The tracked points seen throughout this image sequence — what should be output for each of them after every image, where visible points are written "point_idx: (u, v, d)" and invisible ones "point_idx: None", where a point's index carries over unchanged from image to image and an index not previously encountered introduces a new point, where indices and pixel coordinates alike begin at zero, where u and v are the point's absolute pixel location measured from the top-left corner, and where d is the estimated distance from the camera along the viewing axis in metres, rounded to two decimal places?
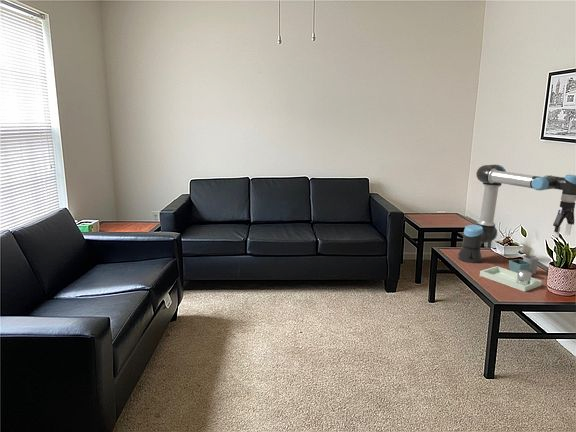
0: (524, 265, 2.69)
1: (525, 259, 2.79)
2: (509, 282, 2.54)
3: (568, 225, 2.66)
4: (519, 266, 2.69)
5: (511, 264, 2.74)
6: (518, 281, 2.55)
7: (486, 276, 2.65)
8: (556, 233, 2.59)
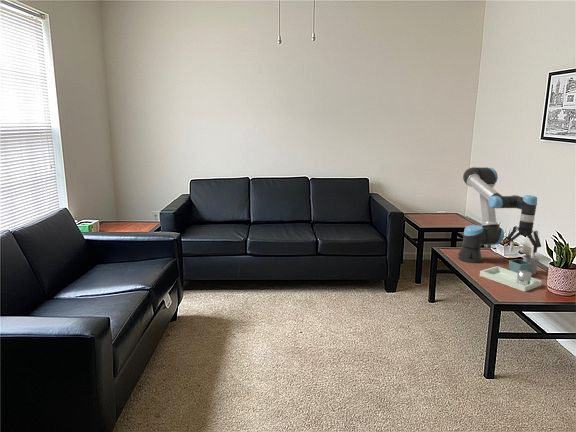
0: (524, 265, 2.69)
1: (525, 259, 2.79)
2: (509, 282, 2.54)
3: None
4: (519, 266, 2.69)
5: (511, 264, 2.74)
6: (518, 281, 2.55)
7: (486, 276, 2.65)
8: None
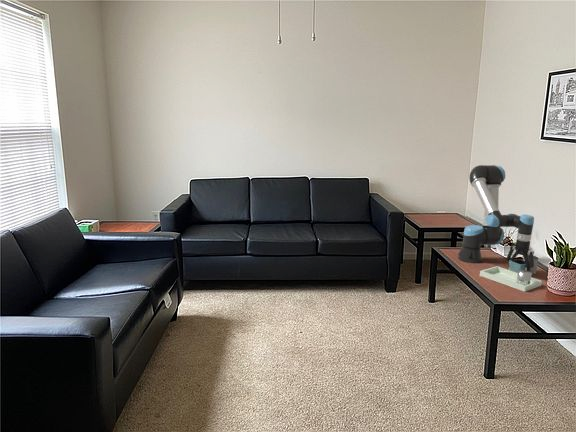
0: (524, 265, 2.69)
1: None
2: (509, 282, 2.54)
3: None
4: (519, 266, 2.69)
5: (511, 264, 2.74)
6: (518, 281, 2.55)
7: (486, 276, 2.65)
8: None
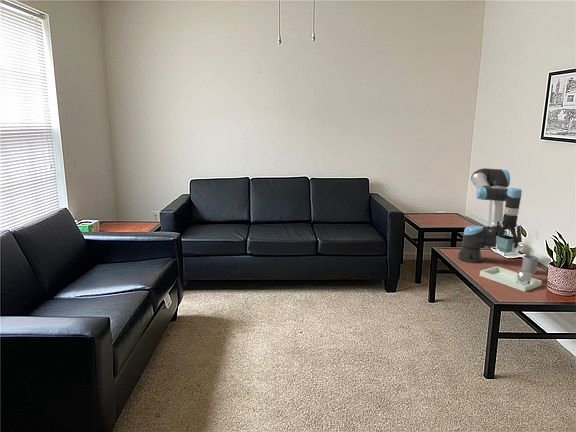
0: (512, 240, 2.59)
1: (525, 259, 2.79)
2: (509, 282, 2.54)
3: None
4: (507, 241, 2.59)
5: (498, 240, 2.64)
6: (518, 281, 2.55)
7: (486, 276, 2.65)
8: None
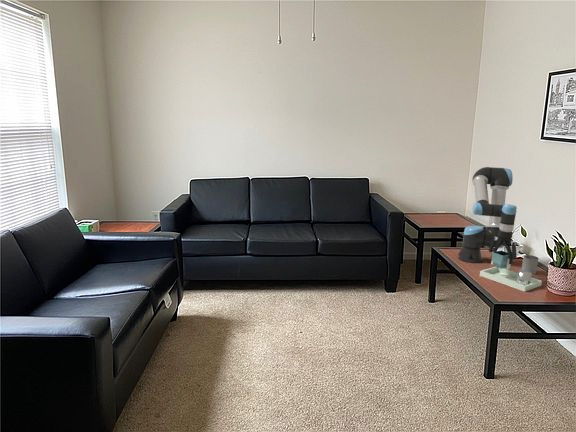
0: (507, 256, 2.61)
1: (525, 259, 2.79)
2: (509, 282, 2.54)
3: None
4: (501, 257, 2.60)
5: (493, 255, 2.66)
6: (518, 281, 2.55)
7: (486, 276, 2.65)
8: None
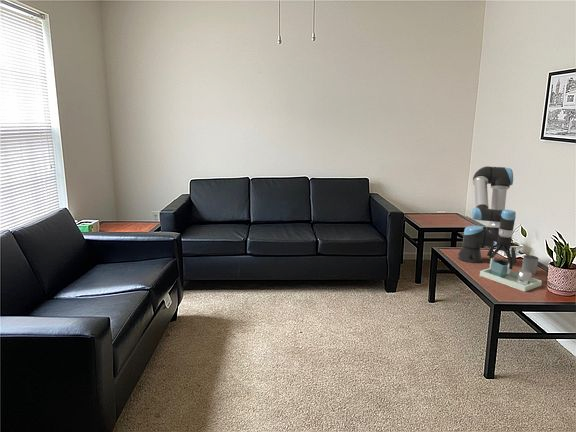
0: (506, 266, 2.62)
1: (525, 259, 2.79)
2: (509, 282, 2.54)
3: None
4: (501, 267, 2.62)
5: (493, 264, 2.67)
6: (518, 281, 2.55)
7: (486, 276, 2.65)
8: None
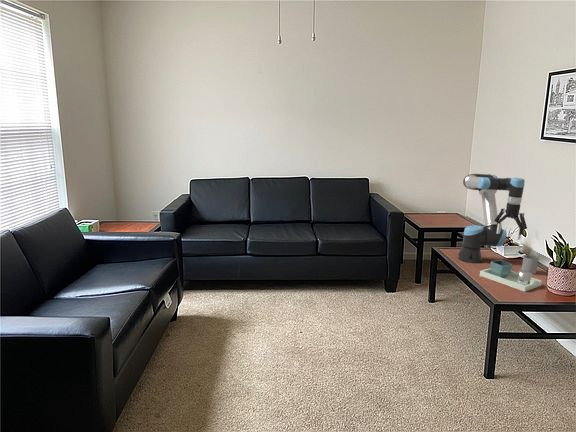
0: (506, 266, 2.62)
1: (525, 259, 2.79)
2: (509, 282, 2.54)
3: None
4: (501, 267, 2.62)
5: (493, 265, 2.67)
6: (518, 281, 2.55)
7: (486, 276, 2.65)
8: None
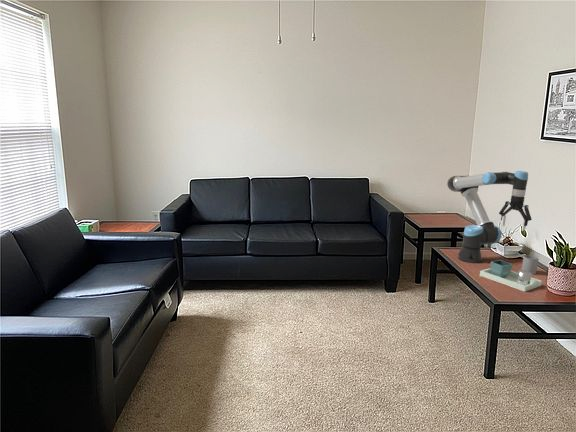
0: (506, 266, 2.62)
1: (525, 259, 2.79)
2: (509, 282, 2.54)
3: None
4: (501, 267, 2.62)
5: (493, 265, 2.67)
6: (518, 281, 2.55)
7: (486, 276, 2.65)
8: None
